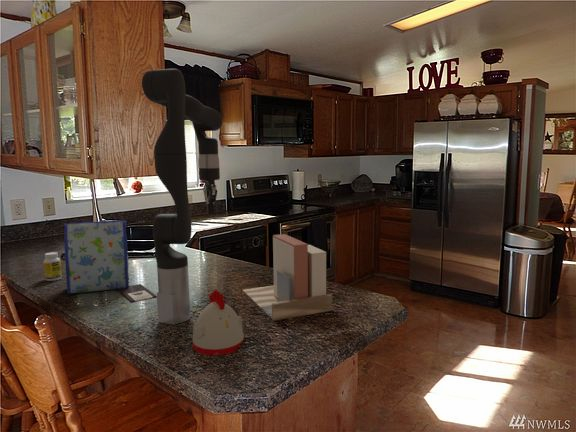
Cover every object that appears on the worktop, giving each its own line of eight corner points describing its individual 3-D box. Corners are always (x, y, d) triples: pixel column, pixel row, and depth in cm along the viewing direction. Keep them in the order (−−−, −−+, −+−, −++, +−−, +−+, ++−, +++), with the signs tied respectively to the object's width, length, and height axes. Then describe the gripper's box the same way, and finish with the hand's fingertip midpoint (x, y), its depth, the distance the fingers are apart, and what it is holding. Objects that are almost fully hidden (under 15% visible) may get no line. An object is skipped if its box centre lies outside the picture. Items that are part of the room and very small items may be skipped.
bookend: (261, 307, 140) (260, 272, 138) (279, 305, 143) (278, 270, 141) (272, 318, 131) (271, 280, 129) (291, 315, 134) (291, 278, 132)
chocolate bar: (140, 283, 169) (156, 295, 155) (140, 286, 169) (156, 298, 155) (116, 288, 164) (131, 301, 150) (116, 290, 164) (131, 303, 150)
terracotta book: (273, 296, 151) (272, 235, 148) (285, 294, 153) (284, 234, 150) (294, 313, 135) (294, 245, 132) (307, 311, 137) (307, 243, 133)
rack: (242, 292, 159) (242, 276, 158) (291, 285, 167) (291, 270, 166) (274, 323, 130) (273, 304, 129) (332, 313, 138) (332, 295, 137)
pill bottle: (54, 281, 175) (52, 255, 174) (41, 281, 177) (38, 254, 175) (65, 277, 181) (62, 251, 180) (52, 276, 183) (50, 251, 181)
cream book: (296, 300, 147) (295, 246, 144) (309, 297, 149) (309, 244, 146) (311, 311, 136) (311, 253, 134) (326, 309, 138) (326, 251, 136)
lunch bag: (130, 278, 179) (125, 216, 175) (131, 289, 164) (126, 222, 160) (71, 284, 171) (65, 220, 168) (66, 297, 156) (59, 226, 152)
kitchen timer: (206, 360, 108) (203, 303, 105) (184, 341, 119) (181, 289, 116) (253, 345, 116) (252, 292, 113) (229, 329, 127) (227, 280, 124)
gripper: (223, 167, 152) (225, 215, 155) (214, 166, 164) (216, 210, 167) (202, 167, 149) (204, 216, 152) (195, 166, 162) (197, 212, 164)
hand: (210, 213), depth 160 cm, fingers closed
